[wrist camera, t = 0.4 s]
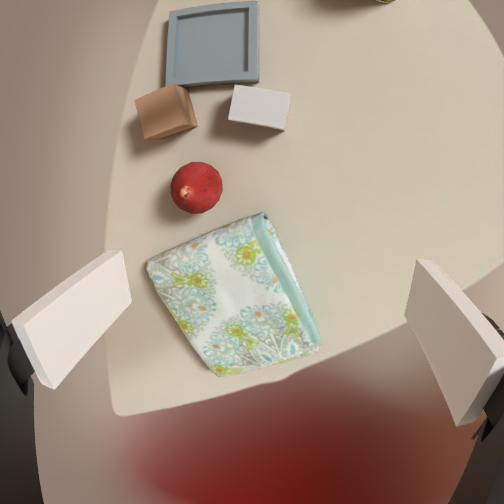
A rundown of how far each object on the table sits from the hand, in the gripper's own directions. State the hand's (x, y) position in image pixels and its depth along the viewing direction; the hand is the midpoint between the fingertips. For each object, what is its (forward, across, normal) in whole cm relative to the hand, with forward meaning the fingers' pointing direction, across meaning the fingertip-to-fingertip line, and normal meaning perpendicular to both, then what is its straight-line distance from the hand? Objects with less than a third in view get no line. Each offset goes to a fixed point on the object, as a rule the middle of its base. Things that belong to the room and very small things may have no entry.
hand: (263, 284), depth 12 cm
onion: (+24, -10, +1) cm, 26 cm away
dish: (+24, -8, +19) cm, 32 cm away
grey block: (+24, -2, +10) cm, 26 cm away
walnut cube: (+24, -13, +10) cm, 30 cm away
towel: (+25, -6, -15) cm, 30 cm away
